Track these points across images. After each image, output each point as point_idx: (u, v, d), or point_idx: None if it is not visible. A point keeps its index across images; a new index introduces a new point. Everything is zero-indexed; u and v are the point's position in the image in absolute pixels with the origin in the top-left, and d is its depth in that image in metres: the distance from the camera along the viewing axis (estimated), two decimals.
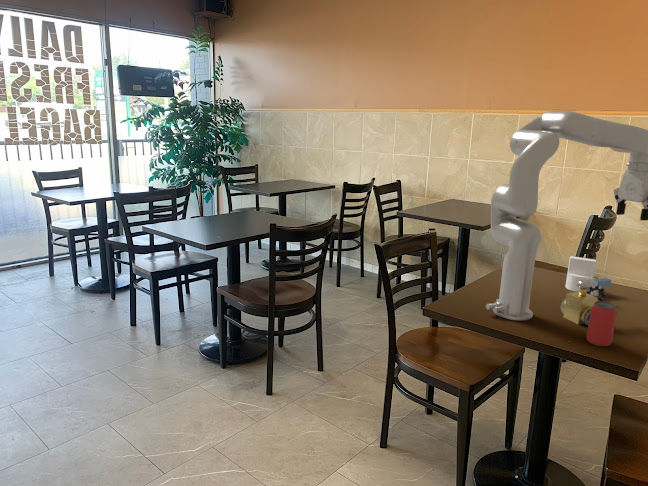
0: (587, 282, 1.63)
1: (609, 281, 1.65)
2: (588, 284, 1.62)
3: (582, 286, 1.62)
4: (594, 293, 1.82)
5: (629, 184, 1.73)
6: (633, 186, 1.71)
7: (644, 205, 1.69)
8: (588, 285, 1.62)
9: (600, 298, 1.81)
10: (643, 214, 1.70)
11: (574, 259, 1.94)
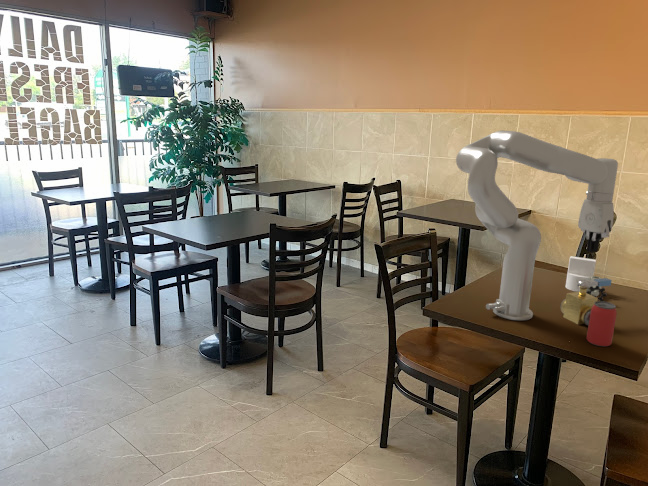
0: (587, 282, 1.63)
1: (609, 281, 1.65)
2: (588, 284, 1.62)
3: (582, 286, 1.62)
4: (594, 293, 1.82)
5: (588, 214, 1.66)
6: (592, 216, 1.65)
7: (592, 237, 1.67)
8: (588, 285, 1.62)
9: (600, 298, 1.81)
10: (591, 246, 1.68)
11: (574, 259, 1.94)
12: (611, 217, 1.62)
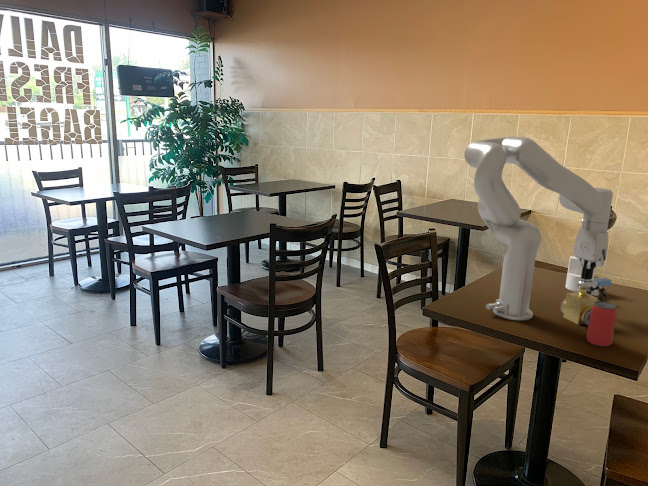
0: (587, 282, 1.63)
1: (609, 281, 1.65)
2: (588, 284, 1.62)
3: (582, 286, 1.62)
4: (595, 293, 1.82)
5: (583, 242, 1.69)
6: (587, 245, 1.67)
7: (587, 265, 1.70)
8: (588, 285, 1.62)
9: (601, 298, 1.82)
10: (586, 274, 1.70)
11: (574, 259, 1.94)
12: (606, 246, 1.64)
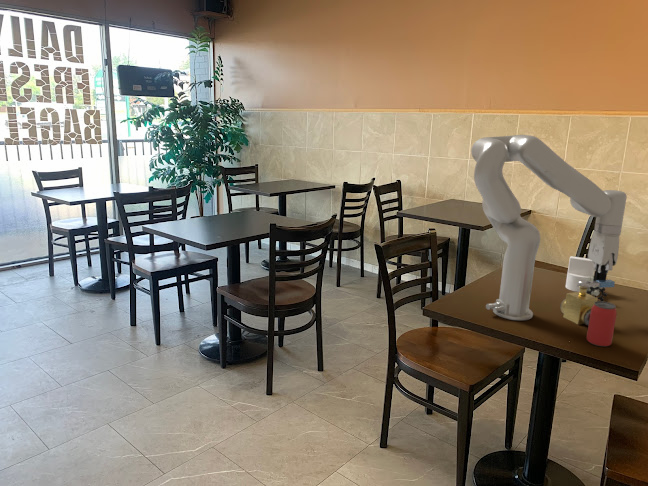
0: (587, 282, 1.62)
1: (612, 282, 1.64)
2: (587, 284, 1.62)
3: (581, 286, 1.62)
4: (595, 293, 1.82)
5: (595, 245, 1.65)
6: (597, 248, 1.64)
7: (598, 268, 1.66)
8: (587, 285, 1.62)
9: (601, 298, 1.82)
10: (597, 277, 1.66)
11: (574, 259, 1.94)
12: (615, 250, 1.60)
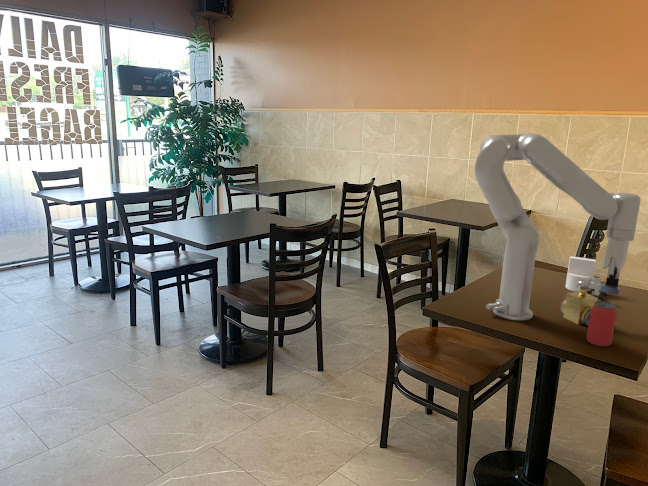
0: (585, 282, 1.62)
1: (616, 289, 1.57)
2: (583, 284, 1.62)
3: (578, 284, 1.63)
4: (595, 292, 1.82)
5: None
6: None
7: (608, 274, 1.60)
8: (583, 285, 1.62)
9: (601, 297, 1.82)
10: (607, 283, 1.61)
11: (574, 259, 1.94)
12: (617, 255, 1.54)
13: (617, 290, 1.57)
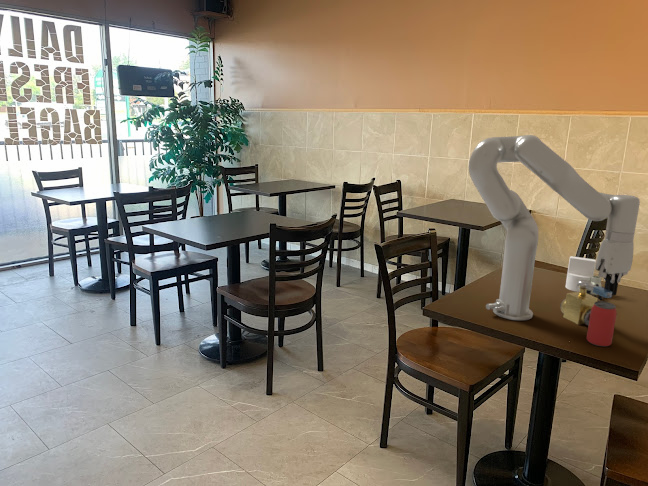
0: (583, 282, 1.62)
1: (604, 292, 1.54)
2: (579, 283, 1.63)
3: None
4: None
5: None
6: None
7: None
8: (579, 284, 1.63)
9: (600, 297, 1.82)
10: None
11: (574, 259, 1.94)
12: (606, 256, 1.52)
13: (605, 293, 1.54)
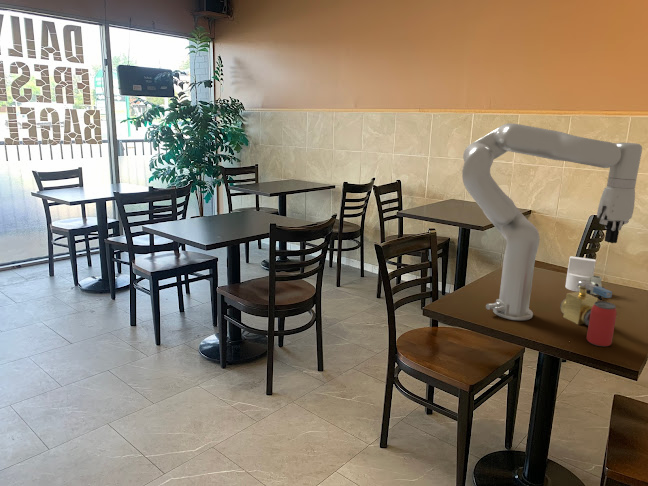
0: (583, 282, 1.62)
1: (604, 292, 1.54)
2: (579, 283, 1.63)
3: None
4: None
5: None
6: None
7: None
8: (579, 284, 1.63)
9: (600, 297, 1.82)
10: None
11: (574, 259, 1.94)
12: (607, 203, 1.54)
13: (605, 293, 1.54)
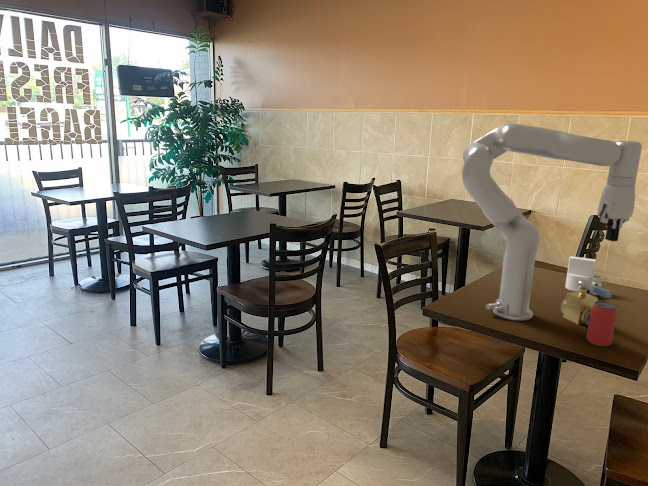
0: (583, 282, 1.62)
1: (604, 292, 1.54)
2: (579, 283, 1.63)
3: None
4: None
5: None
6: None
7: None
8: (579, 284, 1.63)
9: (599, 297, 1.83)
10: (607, 233, 1.60)
11: (574, 259, 1.94)
12: (608, 201, 1.54)
13: (605, 293, 1.54)
